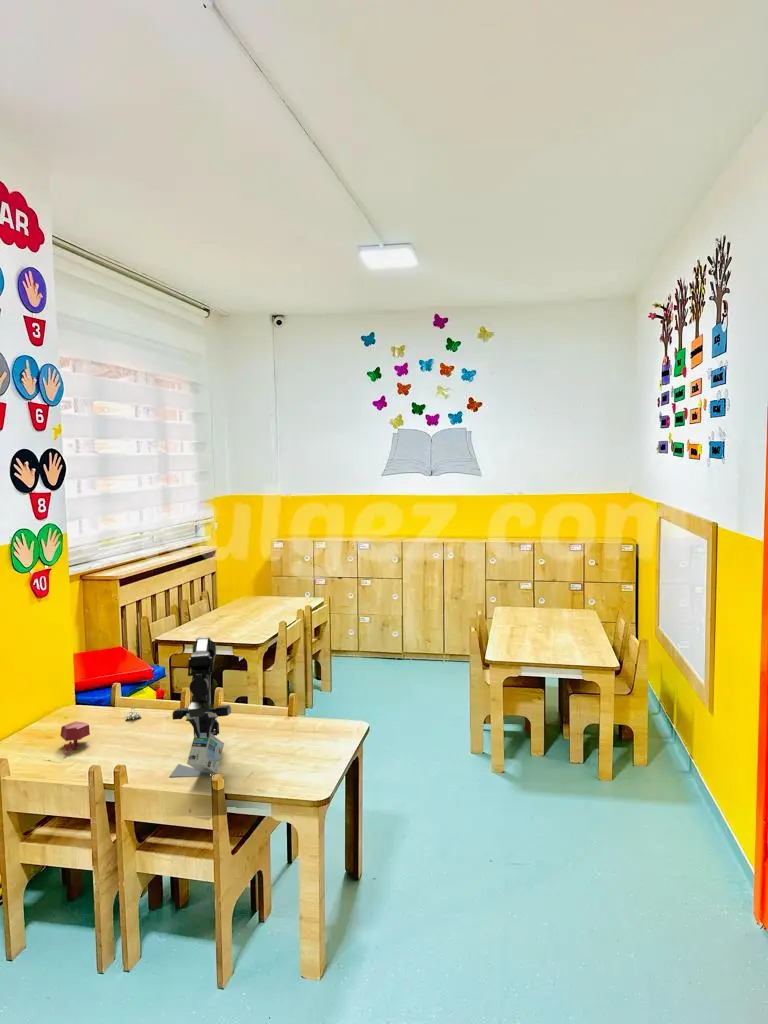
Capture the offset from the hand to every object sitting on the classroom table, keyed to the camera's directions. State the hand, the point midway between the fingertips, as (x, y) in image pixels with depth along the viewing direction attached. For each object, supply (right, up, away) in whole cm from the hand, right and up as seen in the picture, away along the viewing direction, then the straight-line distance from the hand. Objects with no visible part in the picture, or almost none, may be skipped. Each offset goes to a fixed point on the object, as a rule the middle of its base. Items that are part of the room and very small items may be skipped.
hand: (203, 738), depth 250 cm
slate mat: (-2, -14, +8) cm, 16 cm away
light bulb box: (-1, -11, 0) cm, 11 cm away
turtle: (-57, -14, +28) cm, 65 cm away
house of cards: (-44, -12, +62) cm, 77 cm away
